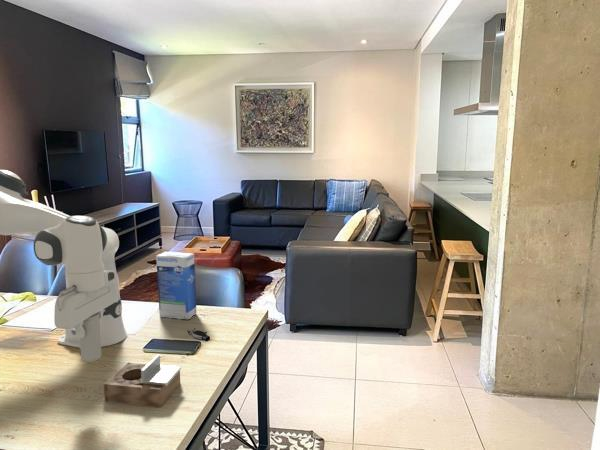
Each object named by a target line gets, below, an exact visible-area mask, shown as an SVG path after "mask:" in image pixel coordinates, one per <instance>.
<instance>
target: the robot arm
mask: <svg viewBox="0 0 600 450" xmlns="http://www.w3.org/2000/svg"><path fill="white" fill-rule="evenodd" d="M26 187H27V186H26V184H25V182H24V180H23V179H21V178H20V176H19V175H18V174H16V173H14V172H12V171H9V170H7V169H0V235H1V236H14V235H23V234H26V235H28V236H30V237H31V238H34V240H33V252H34V256H35V258H36V259H37V260H38V261H39V262H41V263H42V264H44V265H46V266H58V265H62V266H63V265H64V267H65V269H64V274H65V285H66V287H65V288H66V289H63V290H61V291H60V292H59V294H58V296H57V297H56V300H55V303H54V313H53V314H54V316H53V317H54V321H53V322H54V327H56V328H57V329H59V330H65V331H64V332H65V333H64V334H62V335H61V336H60V337H59V338H58V340H57V344H58V345H59V344H60V345H63V346H68V347H69V346H70V347H74V348H78V349H81V347H80V338H83V337H84V336H86V335H87V333H86V329H83V327H82V325H83V321H84V320H86V319H88V318H89V317H91V316H93V315H94V314H96V313H98V314H99V320H100V337H101V348H103V347H108V346H111V345H115V344H118V343H120V342H122V341H124V340H125V339H127V337H128V333H127V331H126V327H125V325H124V322H123V316H122V311H123V305H122V298H121V296H120V281H119V275H118V272H117V268H116V263H115V262H116V261H115V256H116V253H117V251H118V249H119V247H120V240H119V236H118V234H117V233H116V232H115V230H113V229H112V228H108V227H104V226H102V225H100V224H99V222H98V220H97V219H95V218H94V217H91V216H87V215H69V214H66V213H64V212H62V211H59V210H58V209H55V208H52V207H50V206H48V205H46V204H44V203H40V202H37V201H35V200H30V199H27V198H24V197H23V195H26V196H29V193H28V191H27V190H26V189H27V188H26Z"/></svg>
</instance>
